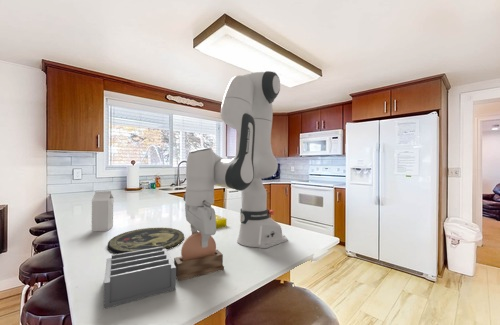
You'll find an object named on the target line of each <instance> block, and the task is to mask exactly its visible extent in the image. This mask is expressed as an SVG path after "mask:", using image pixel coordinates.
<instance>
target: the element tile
mask: <svg viewBox="0 0 500 325" xmlns="http://www.w3.org/2000/svg"><path fill="white" fill-rule="evenodd" d="M215 215H216V229H221V228H225V226H226V227H227V218H225V217H224V216H220V215H217V214H215Z"/></svg>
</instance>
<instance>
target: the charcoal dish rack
mask: <svg viewBox="0 0 500 325" xmlns="http://www.w3.org/2000/svg"><path fill="white" fill-rule="evenodd" d="M104 272H105V273H104V280H103V309H104V308H105V309H108V307H109V308H111V307H115V306H120V305H125V304H127V303H130V302H134V301H137V300H142V299H146V298H149V297H153V296H156V295H160V294H164V293H169V292H172V291H176V290H177V286H176V285H177V277H176V266H175V265H174V260H173V259H172V257H171V256H170V253H169V251H168V250H166V249H163V247H156V248H150V249H145V250H139V251H133V252H127V253H121V254H116V253H114V254H112V255H111V257H110V258H109V257H108V258H106V262H105V271H104Z"/></svg>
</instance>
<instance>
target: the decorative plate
mask: <svg viewBox="0 0 500 325" xmlns="http://www.w3.org/2000/svg"><path fill="white" fill-rule="evenodd" d="M182 241H183V242H184V241H185V234H184V233H183V231H182V230H179V229H176V228H170V227H147V228H138V229H134V230H129V231H125V232H122V233H120V234H118V235H116V236H113V237H112V238H111V239H110V240H108V242H107V246H106V248H107V249H108V251H109V252H111V253H114V254H121V253H127V252H133V251H139V250H145V249H150V248H156V247H163V249H166V250H167V249H168V250H171V249H173V248H175V247H178V246H179V245H180V244H181V242H182ZM183 242H182V243H183ZM178 244H179V245H178ZM172 247H173V248H172ZM170 248H171V249H170ZM168 250H167V251H168Z"/></svg>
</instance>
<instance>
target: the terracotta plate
mask: <svg viewBox="0 0 500 325" xmlns="http://www.w3.org/2000/svg"><path fill="white" fill-rule="evenodd" d="M201 240H202V236H201V233H200V232H199V231H197V233H194V234H192V233H191V235H189V236H188V237H186V239H184V241H183V244H182V246H181V250H180V251H181V252H180V254H181V256H182V259H183V261H186V260H191V259H196V258H201V257H205V256H210V255H215V252H216V250H217V243H216V241H215V239H214V238H213V235H211V236H210V237H209V240H208V246H207V247H204V248H203V247H202V246H201ZM181 256H180V257H181Z"/></svg>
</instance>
